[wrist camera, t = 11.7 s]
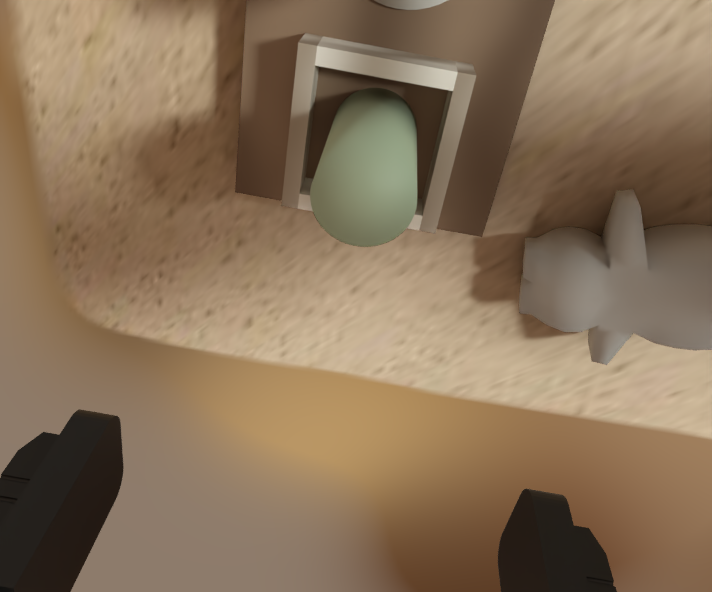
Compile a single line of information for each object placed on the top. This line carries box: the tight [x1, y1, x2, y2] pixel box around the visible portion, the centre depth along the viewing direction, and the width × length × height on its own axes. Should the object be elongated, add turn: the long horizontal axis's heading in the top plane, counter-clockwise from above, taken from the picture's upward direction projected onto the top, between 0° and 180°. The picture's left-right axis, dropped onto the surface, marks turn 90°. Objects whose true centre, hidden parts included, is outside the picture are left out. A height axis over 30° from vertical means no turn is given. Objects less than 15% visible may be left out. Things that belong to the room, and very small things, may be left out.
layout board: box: [235, 0, 555, 237], centre depth 25 cm, size 13×18×10 cm
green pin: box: [310, 88, 417, 247], centre depth 27 cm, size 4×4×8 cm
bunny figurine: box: [519, 189, 712, 365], centre depth 33 cm, size 10×5×15 cm
